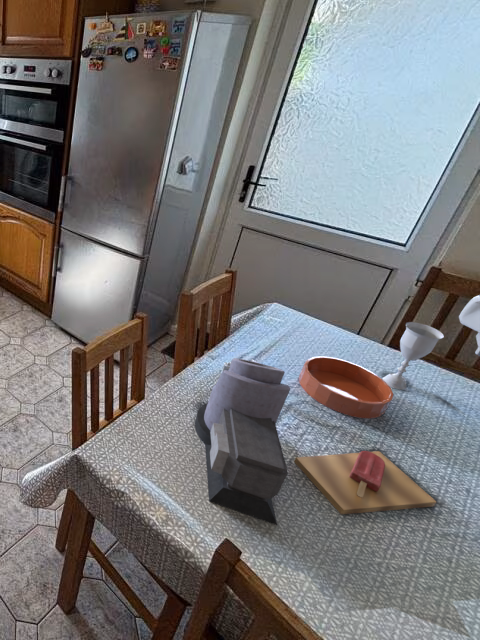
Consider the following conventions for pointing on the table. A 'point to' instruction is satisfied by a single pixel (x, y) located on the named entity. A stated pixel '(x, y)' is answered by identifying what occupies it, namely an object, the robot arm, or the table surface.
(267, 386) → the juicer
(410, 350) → the chalice
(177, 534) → the table surface
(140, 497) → the table surface
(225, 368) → the lighter
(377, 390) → the terracotta plant saucer
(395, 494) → the board
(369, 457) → the popsicle
